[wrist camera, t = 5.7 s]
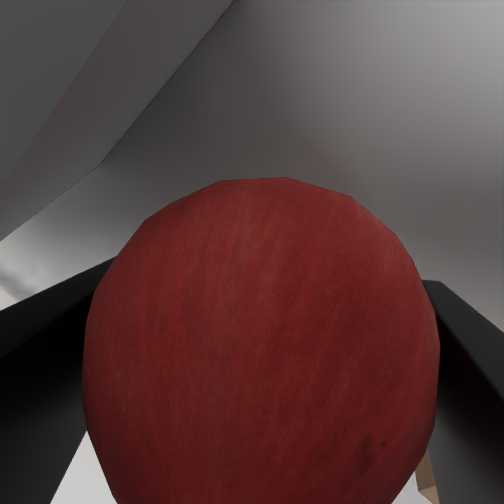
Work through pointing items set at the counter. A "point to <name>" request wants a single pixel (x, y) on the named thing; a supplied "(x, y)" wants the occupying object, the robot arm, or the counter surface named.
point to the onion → (260, 353)
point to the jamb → (81, 85)
